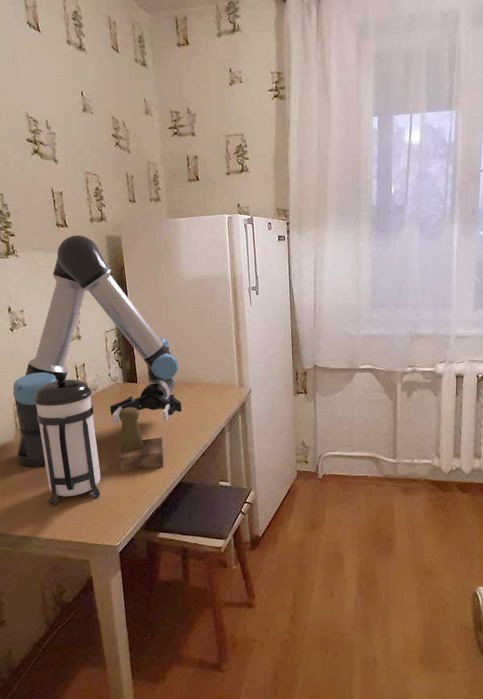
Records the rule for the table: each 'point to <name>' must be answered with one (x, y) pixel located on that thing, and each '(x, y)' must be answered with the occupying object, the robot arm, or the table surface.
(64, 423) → the coffee press
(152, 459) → the walnut base
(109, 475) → the table surface
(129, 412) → the olive pawn
